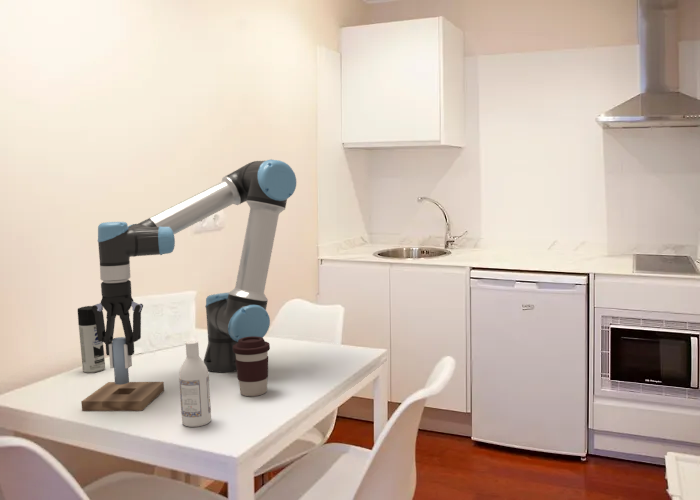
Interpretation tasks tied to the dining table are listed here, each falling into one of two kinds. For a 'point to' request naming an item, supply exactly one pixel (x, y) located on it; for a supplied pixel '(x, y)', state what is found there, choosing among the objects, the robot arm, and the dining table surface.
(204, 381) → the bath foam
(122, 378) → the peg
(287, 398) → the dining table surface
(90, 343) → the spray can
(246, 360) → the coffee cup
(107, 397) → the socket plate
